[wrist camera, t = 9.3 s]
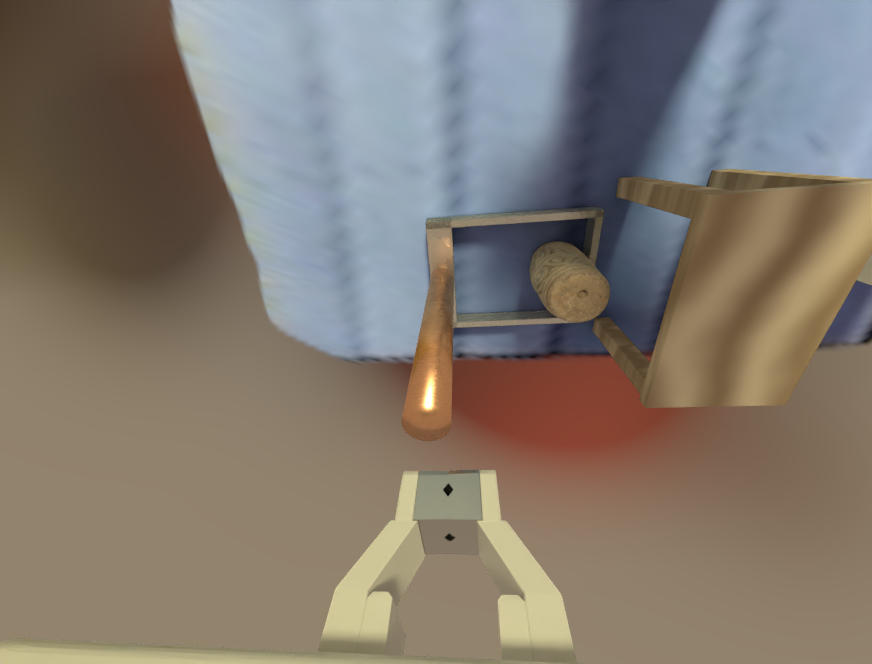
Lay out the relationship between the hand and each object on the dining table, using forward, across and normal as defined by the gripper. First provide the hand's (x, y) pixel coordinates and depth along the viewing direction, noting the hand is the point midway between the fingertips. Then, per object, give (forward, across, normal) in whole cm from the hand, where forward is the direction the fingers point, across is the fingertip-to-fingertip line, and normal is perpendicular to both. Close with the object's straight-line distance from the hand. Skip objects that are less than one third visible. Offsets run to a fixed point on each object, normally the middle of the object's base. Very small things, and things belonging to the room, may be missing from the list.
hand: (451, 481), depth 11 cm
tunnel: (+36, -25, +6) cm, 44 cm away
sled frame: (+35, -6, +5) cm, 36 cm away
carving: (+36, -12, +5) cm, 38 cm away
